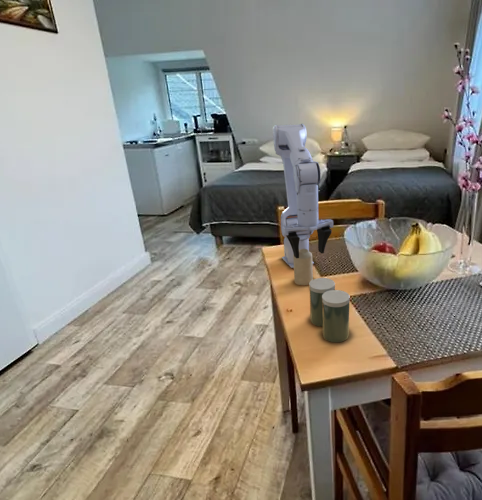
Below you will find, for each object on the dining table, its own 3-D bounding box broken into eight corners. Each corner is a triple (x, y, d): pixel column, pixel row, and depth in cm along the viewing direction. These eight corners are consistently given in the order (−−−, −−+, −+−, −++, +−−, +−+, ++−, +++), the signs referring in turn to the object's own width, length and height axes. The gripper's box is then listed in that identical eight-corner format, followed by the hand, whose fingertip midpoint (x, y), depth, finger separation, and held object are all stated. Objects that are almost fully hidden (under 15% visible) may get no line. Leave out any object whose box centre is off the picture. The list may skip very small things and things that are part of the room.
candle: (305, 287, 111) (304, 255, 107) (290, 282, 114) (289, 251, 110) (316, 280, 115) (315, 249, 111) (301, 275, 118) (300, 245, 114)
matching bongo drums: (306, 316, 96) (305, 280, 92) (328, 311, 98) (328, 275, 94) (329, 345, 85) (329, 305, 81) (354, 338, 87) (354, 299, 83)
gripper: (287, 215, 98) (290, 264, 103) (338, 208, 103) (338, 255, 108) (278, 209, 104) (281, 255, 109) (326, 202, 109) (327, 246, 114)
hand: (308, 254), depth 109 cm, fingers open, 7 cm apart
